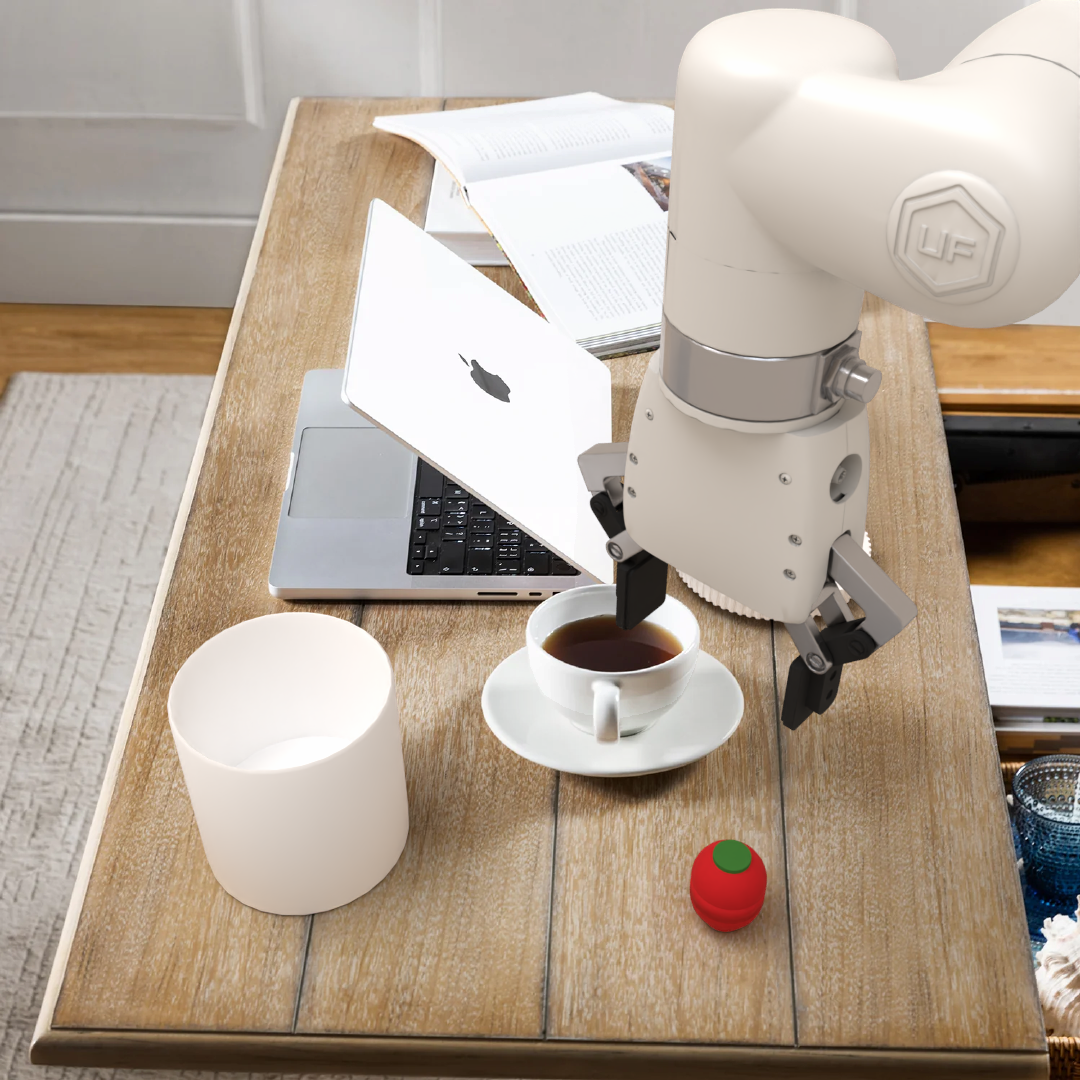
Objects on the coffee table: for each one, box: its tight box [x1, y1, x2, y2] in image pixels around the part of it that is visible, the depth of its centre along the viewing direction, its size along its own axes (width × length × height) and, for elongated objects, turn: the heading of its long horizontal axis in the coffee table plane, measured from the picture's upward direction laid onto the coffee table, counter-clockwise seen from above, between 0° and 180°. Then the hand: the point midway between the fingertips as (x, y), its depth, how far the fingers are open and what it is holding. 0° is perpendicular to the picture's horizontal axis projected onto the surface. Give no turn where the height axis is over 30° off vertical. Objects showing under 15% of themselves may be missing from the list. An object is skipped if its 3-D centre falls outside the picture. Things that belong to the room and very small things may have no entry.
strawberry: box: [689, 838, 768, 933], centre depth 68 cm, size 4×4×5 cm
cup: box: [166, 611, 410, 916], centre depth 70 cm, size 12×12×12 cm
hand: (719, 661), depth 61 cm, fingers open, 9 cm apart
